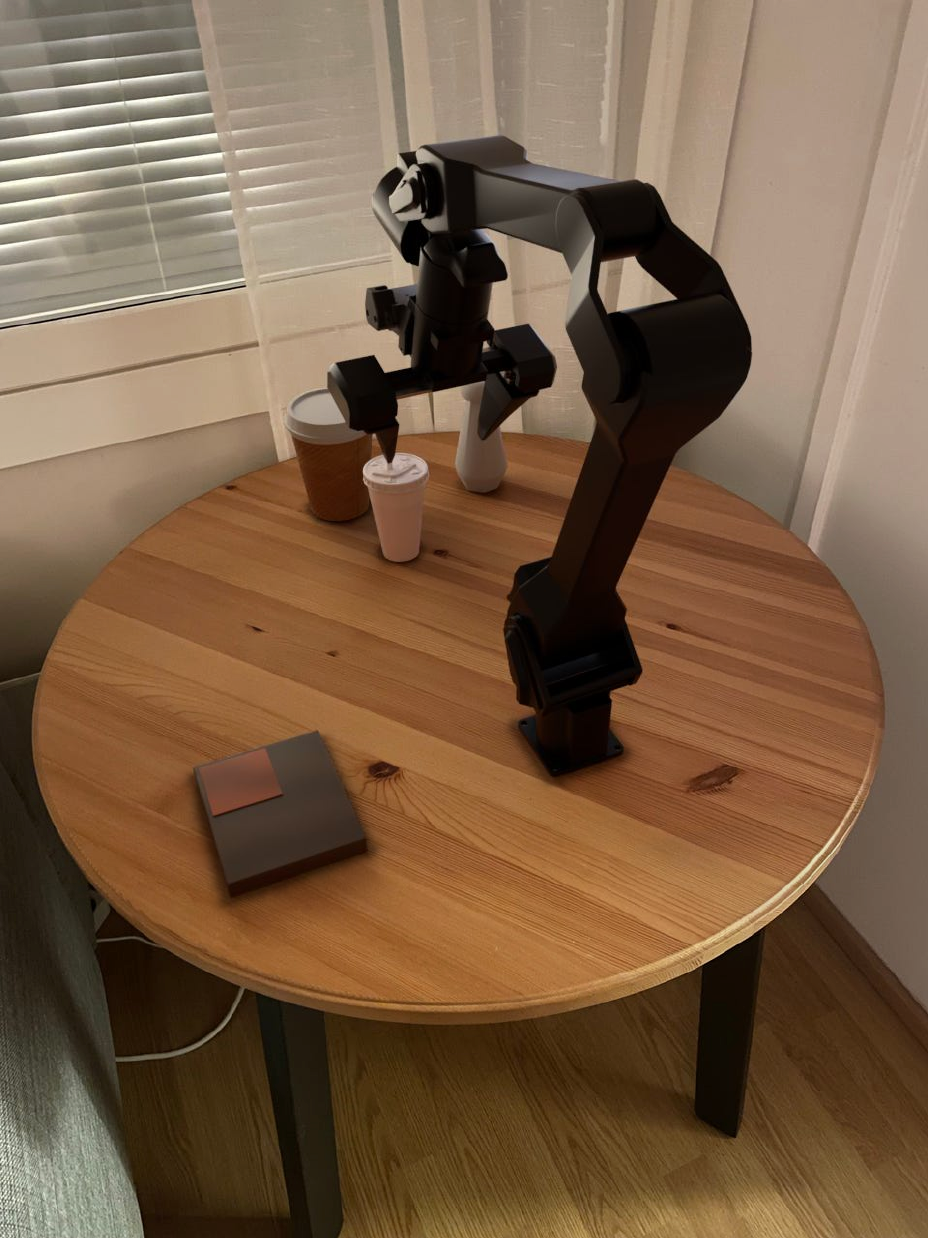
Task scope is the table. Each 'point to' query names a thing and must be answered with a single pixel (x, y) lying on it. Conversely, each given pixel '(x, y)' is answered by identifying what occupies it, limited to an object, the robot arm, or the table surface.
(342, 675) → the table surface
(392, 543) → the smoothie
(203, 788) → the board
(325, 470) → the disposable coffee cup
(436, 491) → the table surface
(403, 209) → the robot arm
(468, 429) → the salt shaker
